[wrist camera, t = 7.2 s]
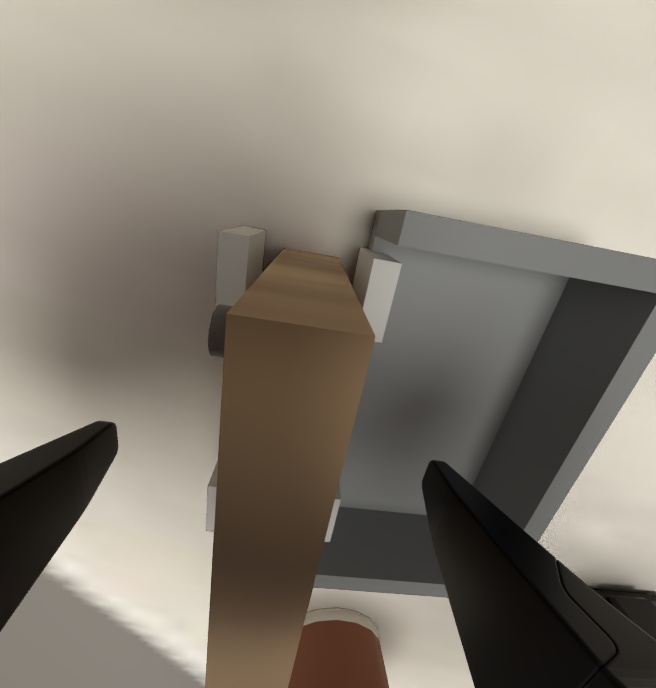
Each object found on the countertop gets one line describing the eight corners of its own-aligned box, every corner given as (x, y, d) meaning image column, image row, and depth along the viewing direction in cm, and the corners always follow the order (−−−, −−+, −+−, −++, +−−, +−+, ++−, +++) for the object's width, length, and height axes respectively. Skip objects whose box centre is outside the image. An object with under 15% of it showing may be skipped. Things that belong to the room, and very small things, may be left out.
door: (300, 465, 15) (285, 698, 8) (246, 459, 15) (179, 694, 8) (338, 257, 12) (375, 336, 4) (267, 244, 11) (178, 306, 4)
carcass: (460, 516, 17) (500, 601, 13) (224, 493, 16) (196, 578, 12) (585, 250, 12) (707, 268, 8) (245, 184, 11) (207, 170, 7)
